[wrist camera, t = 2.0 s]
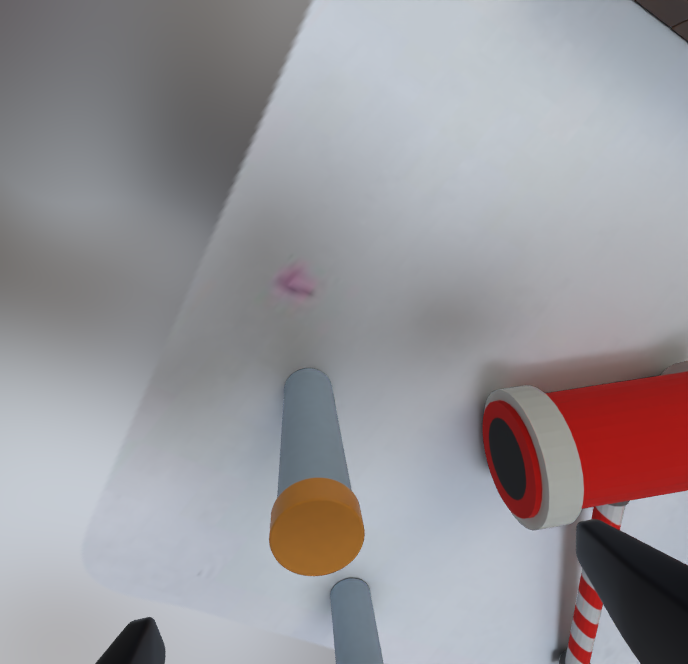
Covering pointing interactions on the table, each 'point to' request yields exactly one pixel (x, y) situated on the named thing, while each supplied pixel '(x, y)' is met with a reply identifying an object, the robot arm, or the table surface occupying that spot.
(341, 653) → the tube grey
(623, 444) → the toy hammer
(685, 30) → the rack
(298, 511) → the orange-capped peg
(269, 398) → the table surface
